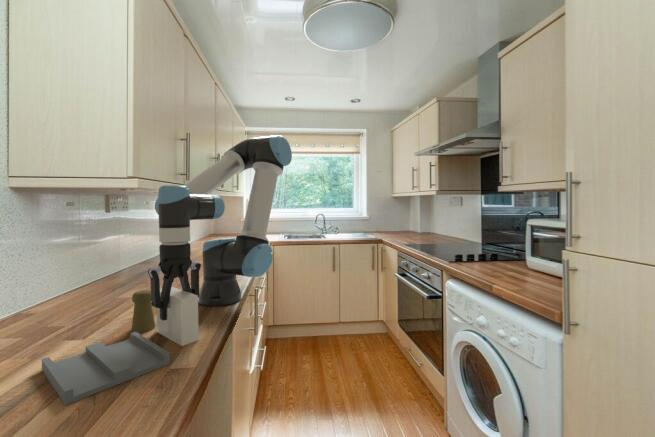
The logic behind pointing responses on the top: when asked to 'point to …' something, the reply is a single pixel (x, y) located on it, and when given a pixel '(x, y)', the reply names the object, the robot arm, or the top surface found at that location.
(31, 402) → the top surface
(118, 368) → the grey grooved stand
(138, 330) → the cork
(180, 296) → the clay block
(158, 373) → the top surface
